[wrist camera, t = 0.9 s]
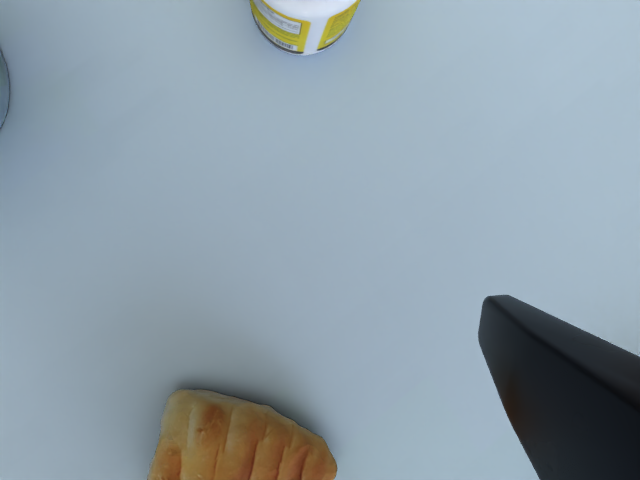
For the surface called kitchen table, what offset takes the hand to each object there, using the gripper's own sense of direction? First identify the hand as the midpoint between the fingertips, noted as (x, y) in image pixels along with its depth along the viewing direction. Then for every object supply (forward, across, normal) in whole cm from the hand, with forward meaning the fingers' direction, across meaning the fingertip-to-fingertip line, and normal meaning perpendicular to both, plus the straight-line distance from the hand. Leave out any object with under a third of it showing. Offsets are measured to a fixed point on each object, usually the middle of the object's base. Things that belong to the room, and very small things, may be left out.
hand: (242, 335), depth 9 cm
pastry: (+12, +2, +16) cm, 20 cm away
